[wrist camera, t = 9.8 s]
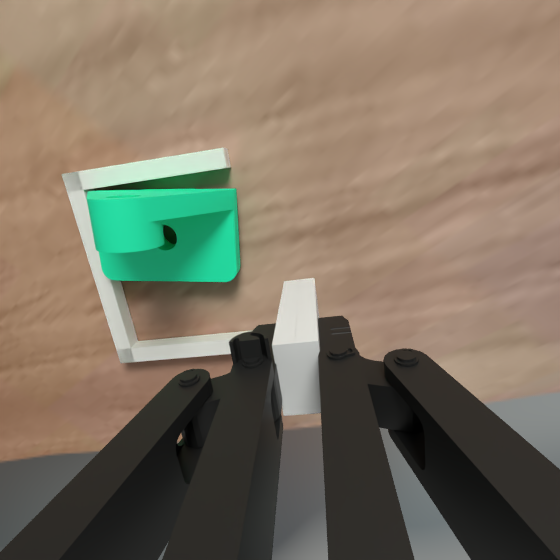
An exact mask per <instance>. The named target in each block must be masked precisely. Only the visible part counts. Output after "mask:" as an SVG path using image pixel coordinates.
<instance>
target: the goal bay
mask: <svg viewBox="0 0 560 560" xmlns="http://www.w3.org/2000/svg"><path fill="white" fill-rule="evenodd" d="M224 168H231V165H230V160H229V154H228V149H227V148H219V149H212V150H206V151H200V152H194V153H188V154H182V155H176V156H170V157H164V158H158V159H151V160H145V161H139V162H133V163H127V164H121V165H115V166H109V167H103V168H97V169H90V170H84V171H78V172H72V173H66V174H62V177H63V180H64V183H65V187H66V190H67V193H68V196H69V199H70V203H71V206H72V209H73V212H74V215H75V219H76V222H77V225H78V228H79V231H80V235H81V238H82V241H83V244H84V247H85V251H86V254H87V257H88V260H89V263H90V267H91V270H92V273H93V276H94V279H95V283H96V286H97V289H98V292H99V295H100V299H101V302H102V305H103V308H104V311H105V315H106V318H107V321H108V324H109V327H110V331H111V334H112V337H113V340H114V343H115V347H116V350H117V353H118V356H119V360H120V363H129V362H141V361H152V360H164V359H176V358H188V357H200V356H211V355H223V354H231V351H230V346H229V341H230V340H231V339H232V338H233V337H235V336H237V335H239V334H242V333H245V332H250V331H241V332H230V333H219V334H209V335H198V336H187V337H176V338H166V339H155V340H144V341H138V339H137V336H136V332H135V329H134V325H133V322H132V318H131V315H130V311H129V308H128V305H127V301H126V298H125V294H124V291H123V287H122V284H121V281H114V280H111V279H109V278H107V277H106V276H105V275H104V273H103V271H102V268H101V262H100V256H99V251H97V250H96V248H95V243H94V237H93V231H92V226H91V220H90V215H89V209H88V204H87V194H88V192H89V191H94V189H96V188H102V187H109V186H115V185H122V184H128V183H134V182H141V181H147V180H154V179H160V178H167V177H173V176H179V175H186V174H192V173H199V172H205V171H211V170H218V169H224ZM252 331H253V330H252Z"/></svg>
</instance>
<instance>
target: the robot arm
mask: <svg viewBox="0 0 560 560" xmlns="http://www.w3.org/2000/svg"><path fill="white" fill-rule="evenodd" d="M229 346H230V351H231V356H232V360H233V366H232V369H231V372H230V373H228V374H226V375H223V376H219V377H216V378H212V379H211V378H210V374H209V372H208V371H206V370H204V369H190V370H186V371H184V372H182V373H180V374H178V375H177V376H175V377H174V378H173V379H172V380H171V381H170V382H169V383H168V384H167V385H166V386H165V387H164V388H163V389H162V390H161V391H160V392H159V393H158V394H157V395H156V396H155V397H154V398H153V399H152V400H151V401H150V402H149V403H148V404H147V405H146V406H145V407H144V408H143V409H142V410H141V411H140V412H139V413H138V414H137V415H136V416H135V417H134V418H133V419H132V420H131V421H130V422H129V423H128V424H127V425H126V426H125V427H124V428H123V429H122V430H121V431H120V432H119V433H118V434H117V435H116V436H115V437H114V438H113V439H112V440H111V441H110V442H109V443H108V444H107V445H106V446H105V447H104V448H103V449H102V450H101V451H100V452H99V453H98V454H97V455H96V456H95V457H94V458H93V459H92V460H91V461H90V462H89V463H88V464H87V465H86V466H85V467H84V468H83V469H82V470H81V471H80V472H79V473H78V474H77V475H76V476H75V477H74V479H72V481H70V482H69V484H68V485H67V486H65V488H63V489H62V490H61V492H60V493H58V494H57V495H56V497H54V499H52V500H51V502H50V503H49V504H48V505H47V506H46V507H45V508H44V509H43V510H42V511H41V512H40V513H39V514H38V515H37V516H36V517H35V518H34V519H33V520H32V521H31V522H30V523H29V524H28V525H27V526H26V527H25V528H24V529H23V530H22V531H21V532H20V533H19V534H18V535H17V536H16V537H15V538H14V539H13V540H12V541H11V542H10V543H9V544H8V545H7V546H6V547H5V548H4V549H3V550H2V551H1V552H0V560H158V558H159V556H160V555H161V553H162V551H163V550H164V548H165V546H166V545H167V543H168V546H167V548H166V551H165V553H164V556H163V559H162V560H271V559H272V548H273V536H274V525H275V514H276V502H277V491H278V480H279V468H280V456H281V445H282V434H283V422H282V416H281V409H282V408H283V414H284V416H287V415H300V414H314V413H321V423H322V443H323V461H324V482H325V502H326V520H327V541H328V560H414V556H413V553H412V549H411V545H410V541H409V538H408V534H407V530H406V527H405V523H404V519H403V515H402V511H401V508H400V504H399V500H398V497H397V493H396V489H395V485H394V481H393V478H392V474H391V470H390V467H389V463H388V459H387V455H386V452H385V448H384V444H383V440H382V437H381V433H380V429H379V427H380V428H386V429H388V432H389V435H390V437H391V438H392V440H393V442H394V443H395V444H396V446H397V448H398V449H399V450H400V452H401V454H402V455H403V457H404V458H405V460H406V461H407V463H408V464H409V466H410V467H411V468H412V470H413V472H414V473H415V475H416V477H417V478H418V480H419V481H420V483H421V484H422V486H423V487H424V489H425V490H426V492H427V493H428V495H429V496H430V498H431V499H432V501H433V502H434V504H435V505H436V507H437V508H438V510H439V511H440V513H441V514H442V516H443V518H444V519H445V521H446V522H447V524H448V525H449V527H450V528H451V530H452V531H453V533H454V534H455V536H456V537H457V539H458V540H459V542H460V543H461V545H462V546H463V548H464V549H465V551H466V552H467V554H468V556H469V557H470V559H471V560H560V469H559V468H557V467H556V466H555V465H554V464H553V463H552V462H551V461H549V460H548V459H547V458H546V457H545V456H544V455H542V454H541V453H540V452H539V451H538V450H537V449H535V448H534V447H533V446H532V445H531V444H530V443H528V442H527V441H526V440H525V439H524V438H523V437H521V436H520V435H519V434H518V433H517V432H516V431H514V430H513V429H512V428H511V427H510V426H509V425H507V424H506V423H505V422H504V421H503V420H502V419H500V418H499V417H498V416H497V415H496V414H495V413H493V412H492V411H491V410H490V409H489V408H487V407H486V406H485V405H484V404H483V403H482V402H481V401H480V400H478V399H477V398H476V397H475V396H474V395H473V394H471V393H470V392H469V391H468V390H467V389H466V388H464V387H463V386H462V385H461V384H460V383H459V382H457V381H456V380H455V379H454V378H453V377H452V376H450V375H449V374H448V373H447V372H446V371H445V370H443V369H442V368H441V367H440V366H439V365H438V364H436V363H435V362H434V361H433V360H432V359H431V358H429V357H428V356H427V355H426V354H424V353H422V352H420V351H417V350H413V349H398V350H394V351H391V352H389V353H388V354H386V355H385V357H384V362H381V361H373V360H369V359H365V358H363V357H361V356H360V355H359V352H358V350H357V349H356V348H355V345H354V341H353V337H352V333H351V330H350V326H349V322H348V320H347V319H345V318H344V317H343V316H334V317H325V318H319V312H318V303H317V295H316V287H315V279H314V278H309V279H300V280H292V281H284V285H283V291H282V296H281V301H280V306H279V311H278V316H277V321H276V323H275V324H266V325H258V326H257V327H256V328H255V329H254V330H253V331H250V332H245V333H242V334H239V335H237V336H235V337H233V338H232V339H231V340H230V341H229ZM180 433H181V434H182V437H183V438H182V439H181V441H180V442H179V443H178V444H177V439H178V437H179V435H180ZM168 541H169V542H168Z"/></svg>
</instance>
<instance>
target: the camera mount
mask: <svg viewBox="0 0 560 560" xmlns="http://www.w3.org/2000/svg"><path fill="white" fill-rule="evenodd" d="M87 204H88V209H89V215H90V220H91V226H92V231H93V237H94V243H95V248H96V250H97V251H99V256H100V262H101V268H102V271H103V273H104V275H105V276H106V277H107V278H109V279H111V280H114V281H190V282H228V281H231V280H232V279H234V277H235V276H236V275H237V273H238V272H239V270H240V248H239V229H238V211H237V192H236V189H196V188H188V189H141V190H97V191H89V192H88V194H87ZM165 225H167V226H169V227H171V228H172V229H173V230H174V231H175V233H176V236H177V243H176V244H172V243H170V242H169V241H167V240H166V238H165V236H164V233H163V229H164V226H165Z"/></svg>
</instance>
